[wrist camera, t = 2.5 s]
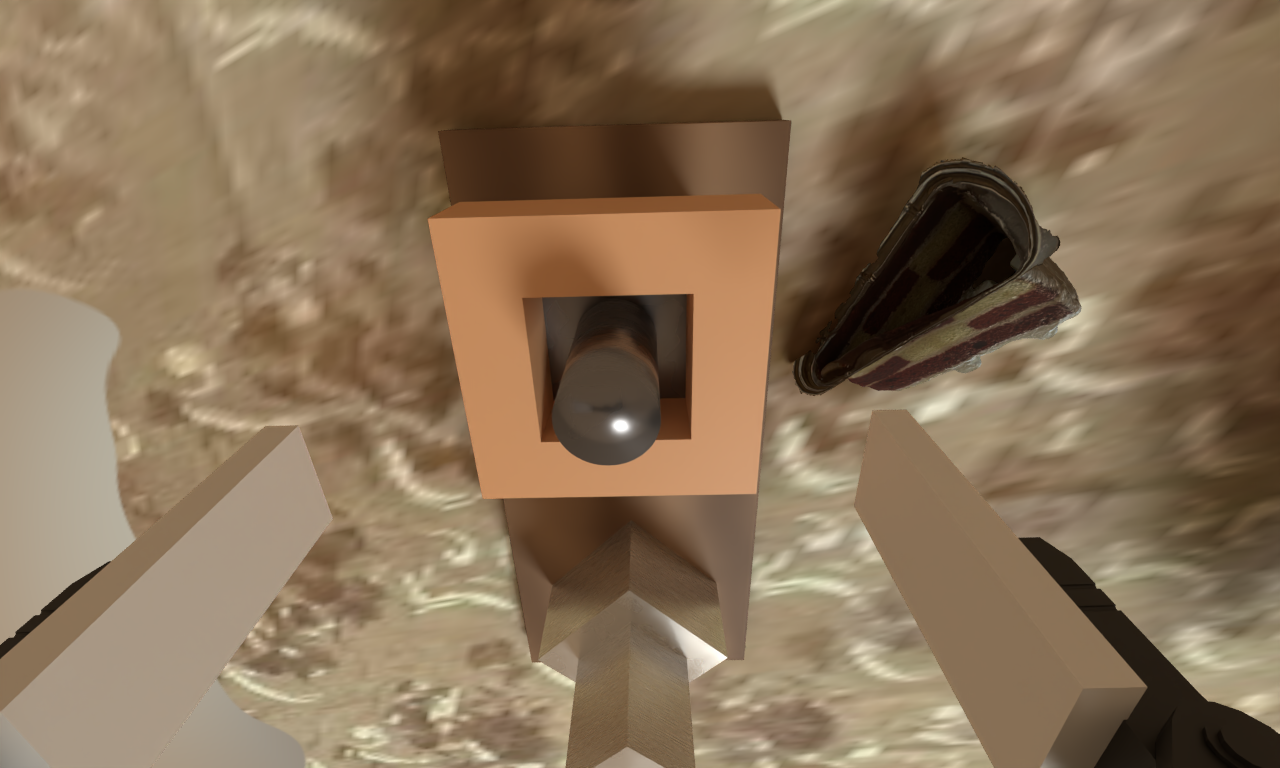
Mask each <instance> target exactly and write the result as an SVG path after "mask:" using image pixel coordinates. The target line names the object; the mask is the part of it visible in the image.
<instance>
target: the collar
mask: <svg viewBox="0 0 1280 768" xmlns="http://www.w3.org/2000/svg"><path fill="white" fill-rule="evenodd" d="M780 213H781V209H780V208H779V207H777V206H776V205H775V204H773V203H772V202H771V201H769V200H768V199H767V198H766V197H764V196H763V195H762V194H733V195H697V196H661V197H624V198H588V199H552V200H516V201H480V202H458V203H457V204H455V205H453V206H451V207H449V208H447V209H445V210H443V211H441V212H439V213H438V214H436V215H434V216H432V217H430V218H428V223H429V228H430V233H431V239H432V244H433V249H434V254H435V259H436V264H437V269H438V274H439V279H440V284H441V289H442V294H443V299H444V304H445V309H446V315H447V320H448V325H449V330H450V335H451V340H452V345H453V350H454V355H455V360H456V365H457V370H458V375H459V380H460V385H461V390H462V396H463V401H464V406H465V411H466V416H467V421H468V426H469V431H470V436H471V441H472V446H473V451H474V456H475V461H476V466H477V472H478V477H479V482H480V487H481V492H482V497H483V499H497V498H555V497H612V496H669V495H726V494H756V492H757V481H758V469H759V457H760V446H761V434H762V422H763V411H764V399H765V388H766V376H767V364H768V353H769V341H770V329H771V318H772V306H773V294H774V283H775V271H776V259H777V248H778V236H779V225H780ZM662 294H687V304H686V391H685V398H661V399H660V412H661V426H660V430H659V434H658V436H657V438H656V440H655V442H654V443H653V445H652V446H651V447H650V448H649V449H648V450H647V451H646V452H645V453H644V454H643V455H641V456H640V457H638V458H636V459H635V460H632V461H630V462H627V463H624V464H619V465H610V466H607V465H597V464H592V463H589V462H586V461H583V460H581V459H579V458H577V457H576V456H574V455H573V454H571V453H570V452H569V451H568V450H566V449H565V447H564V446H563V445H562V444H561V443H560V441H559V440H558V438H557V436H556V434H555V431H554V429H553V424H552V410H553V406H554V402H555V401H554V400H553V391H552V382H551V373H550V364H549V355H548V346H547V337H546V328H545V320H544V311H543V302H542V297H579V296H621V295H662Z"/></svg>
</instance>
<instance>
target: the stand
mask: <svg viewBox="0 0 1280 768" xmlns="http://www.w3.org/2000/svg"><path fill="white" fill-rule="evenodd" d="M542 302H543V311H544V320H545V328H546V337H547V346H548V355H549V364H550V373H551V382H552V391H553V400H554V401H555V402H554V406H553V410H552V424H553V429H554V431H555V434H556V436H557V438H558V440H559V441H560V443H561V444H562V445H563V446H564V447H565V449H566V450H568V451H569V452H570V453H571V454H573V455H574V456H576V457H577V458H579V459H581V460H583V461H586V462H589V463H592V464H597V465H607V466H610V465H619V464H624V463H627V462H630V461H632V460H635V459H636V458H638V457H640V456H641V455H643V454H644V453H645V452H646V451H647V450H648V449H649V448H650V447H651V446H652V445H653V443H654V442H655V440H656V438H657V436H658V434H659V430H660V426H661V412H660V399H661V398H685V391H686V304H687V294H662V295H621V296H579V297H542Z"/></svg>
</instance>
